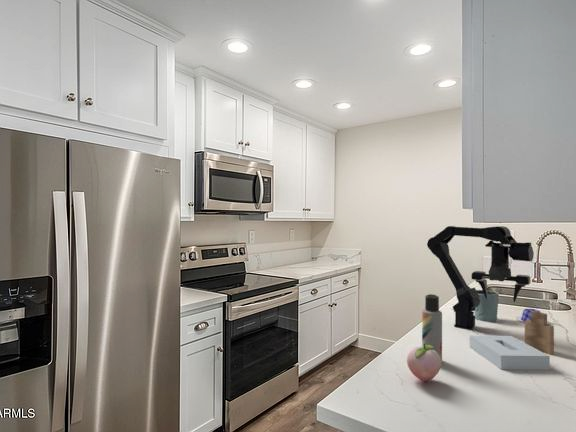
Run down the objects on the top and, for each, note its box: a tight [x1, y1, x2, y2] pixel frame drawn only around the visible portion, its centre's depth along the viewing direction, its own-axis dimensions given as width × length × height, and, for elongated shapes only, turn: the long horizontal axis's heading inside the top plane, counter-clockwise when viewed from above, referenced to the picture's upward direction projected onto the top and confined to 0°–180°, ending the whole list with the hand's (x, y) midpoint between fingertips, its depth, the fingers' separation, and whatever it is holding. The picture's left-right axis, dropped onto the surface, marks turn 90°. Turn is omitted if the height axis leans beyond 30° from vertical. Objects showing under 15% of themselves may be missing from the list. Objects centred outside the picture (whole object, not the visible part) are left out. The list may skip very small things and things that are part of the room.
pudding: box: [515, 308, 550, 325], centre depth 152 cm, size 12×12×5 cm
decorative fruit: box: [406, 344, 442, 383], centre depth 95 cm, size 9×8×10 cm
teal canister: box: [473, 289, 500, 323], centre depth 155 cm, size 10×10×12 cm
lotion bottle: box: [421, 293, 443, 363], centre depth 109 cm, size 6×6×20 cm
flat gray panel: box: [469, 334, 551, 371], centre depth 111 cm, size 18×14×4 cm
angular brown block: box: [524, 311, 555, 356], centre depth 118 cm, size 8×2×12 cm, turn 25°
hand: (500, 300), depth 134 cm, fingers open, 9 cm apart
